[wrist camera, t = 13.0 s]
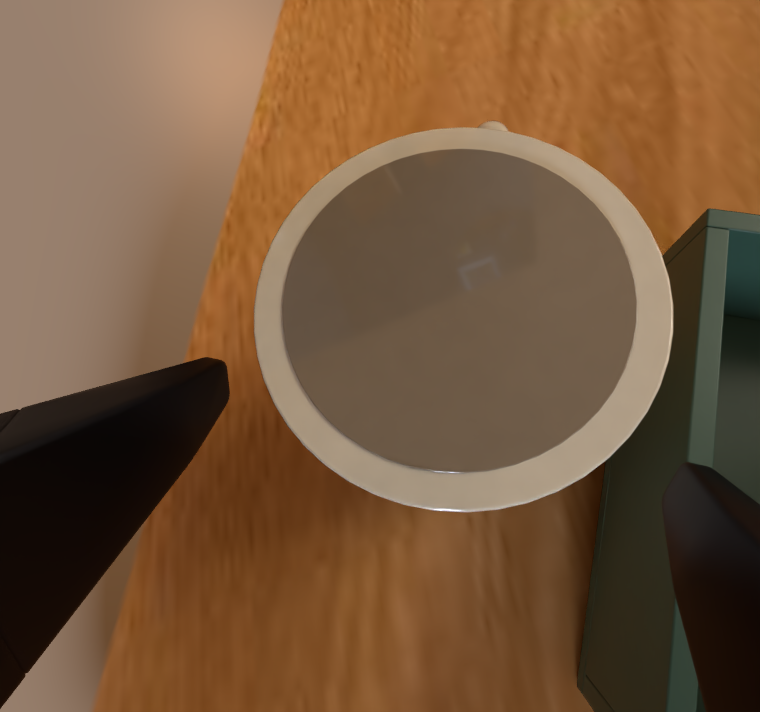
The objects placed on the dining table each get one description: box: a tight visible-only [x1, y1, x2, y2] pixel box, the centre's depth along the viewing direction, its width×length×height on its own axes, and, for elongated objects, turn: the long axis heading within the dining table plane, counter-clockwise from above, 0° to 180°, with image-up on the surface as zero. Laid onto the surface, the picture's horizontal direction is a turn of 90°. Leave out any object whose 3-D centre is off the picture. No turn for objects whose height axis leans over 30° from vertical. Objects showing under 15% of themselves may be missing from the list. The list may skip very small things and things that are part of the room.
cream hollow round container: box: [254, 121, 673, 513], centre depth 13 cm, size 9×7×10 cm
